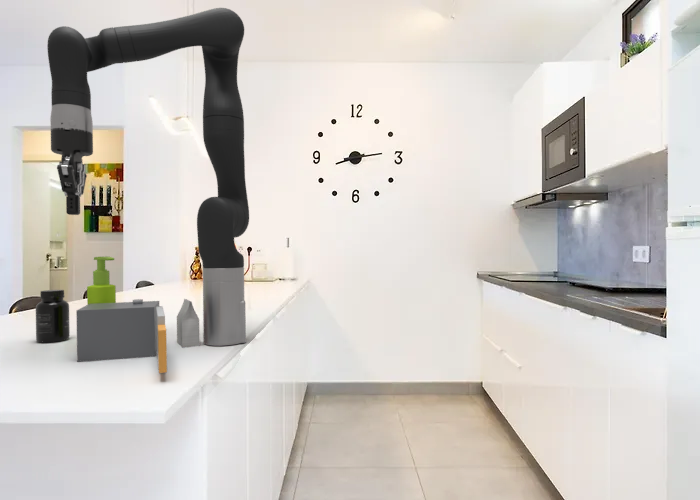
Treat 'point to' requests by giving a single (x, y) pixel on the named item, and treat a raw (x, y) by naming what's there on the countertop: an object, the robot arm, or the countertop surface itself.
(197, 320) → the grey gable top carton
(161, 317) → the side door
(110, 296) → the soap dispenser
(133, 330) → the camera housing
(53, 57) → the robot arm
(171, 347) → the countertop surface
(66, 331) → the supplement bottle
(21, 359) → the countertop surface
